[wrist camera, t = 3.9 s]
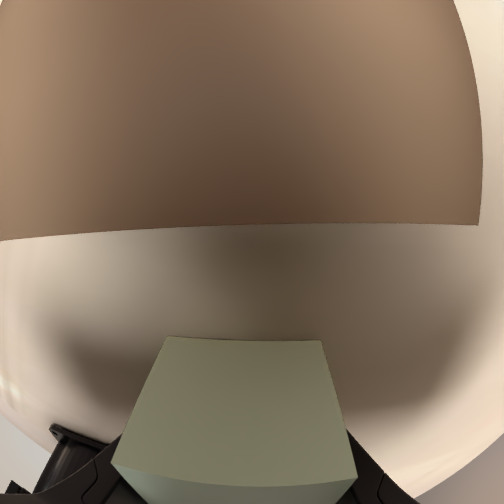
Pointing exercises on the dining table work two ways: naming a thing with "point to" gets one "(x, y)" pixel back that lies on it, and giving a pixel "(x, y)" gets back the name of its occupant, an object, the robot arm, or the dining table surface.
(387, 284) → the dining table surface
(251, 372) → the sage block
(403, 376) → the dining table surface
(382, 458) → the dining table surface
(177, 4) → the walnut block
